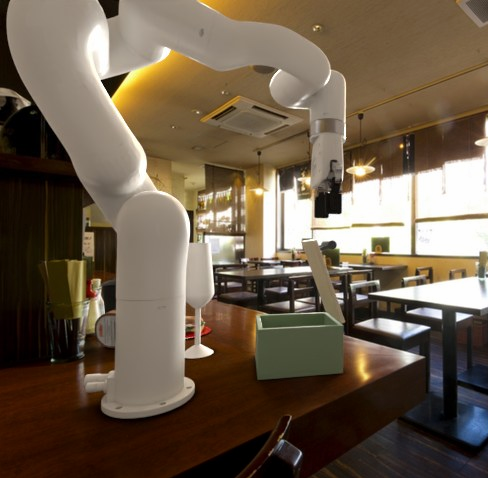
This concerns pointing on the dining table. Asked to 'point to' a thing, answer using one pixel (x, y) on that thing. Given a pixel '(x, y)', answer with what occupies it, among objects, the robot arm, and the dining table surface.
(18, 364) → the dining table surface
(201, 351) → the champagne flute
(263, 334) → the chest
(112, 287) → the drinking cup
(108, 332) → the tin
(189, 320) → the hamburger
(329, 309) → the lid
